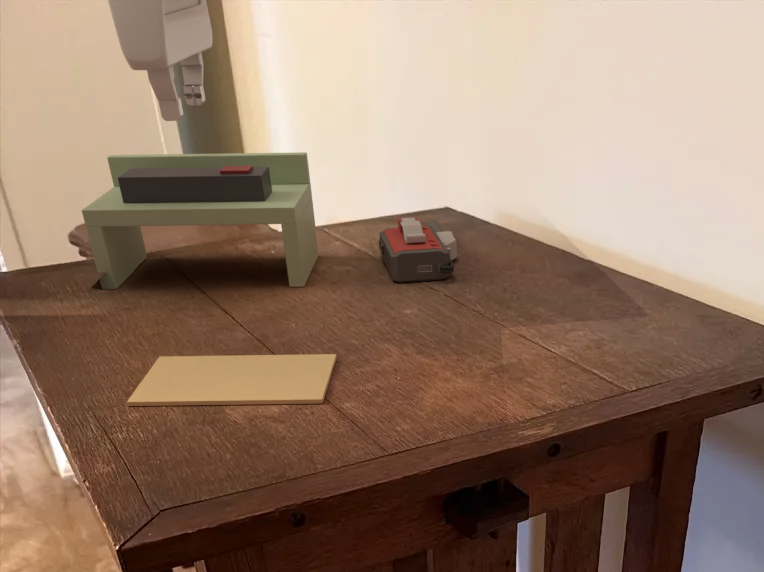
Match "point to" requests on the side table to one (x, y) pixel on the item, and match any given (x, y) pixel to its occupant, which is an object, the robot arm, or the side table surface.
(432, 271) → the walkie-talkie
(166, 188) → the remote
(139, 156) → the green bench
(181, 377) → the mat
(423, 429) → the side table surface
